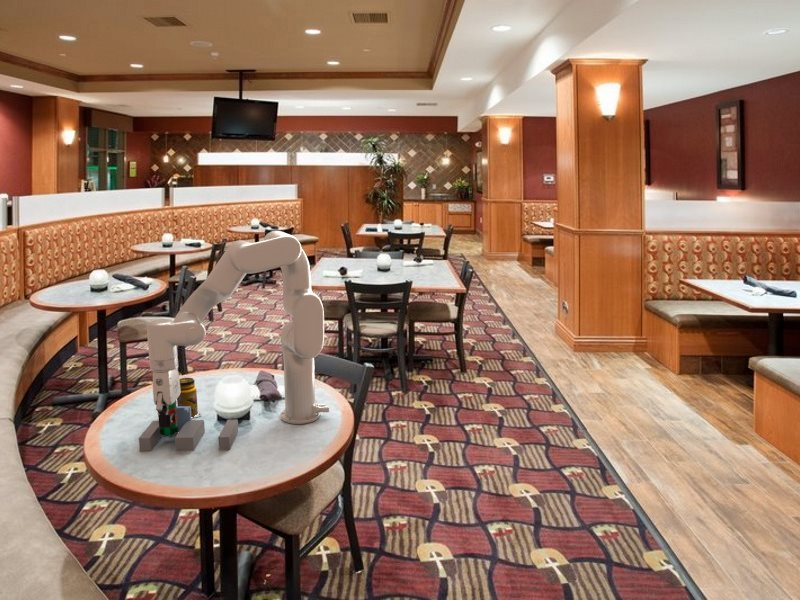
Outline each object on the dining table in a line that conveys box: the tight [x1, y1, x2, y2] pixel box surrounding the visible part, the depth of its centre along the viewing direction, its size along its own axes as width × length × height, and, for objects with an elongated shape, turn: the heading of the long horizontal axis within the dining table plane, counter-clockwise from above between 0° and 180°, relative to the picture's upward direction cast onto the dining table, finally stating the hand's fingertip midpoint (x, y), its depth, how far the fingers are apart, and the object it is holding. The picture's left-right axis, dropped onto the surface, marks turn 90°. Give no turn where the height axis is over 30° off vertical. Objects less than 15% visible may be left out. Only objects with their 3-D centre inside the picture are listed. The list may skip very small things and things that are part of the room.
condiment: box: [176, 377, 199, 417], centre depth 198 cm, size 7×8×12 cm
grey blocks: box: [138, 406, 239, 452], centre depth 180 cm, size 25×13×8 cm, turn 93°
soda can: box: [159, 400, 178, 437], centre depth 179 cm, size 5×5×12 cm
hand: (168, 422), depth 179 cm, fingers closed on soda can, 5 cm apart
